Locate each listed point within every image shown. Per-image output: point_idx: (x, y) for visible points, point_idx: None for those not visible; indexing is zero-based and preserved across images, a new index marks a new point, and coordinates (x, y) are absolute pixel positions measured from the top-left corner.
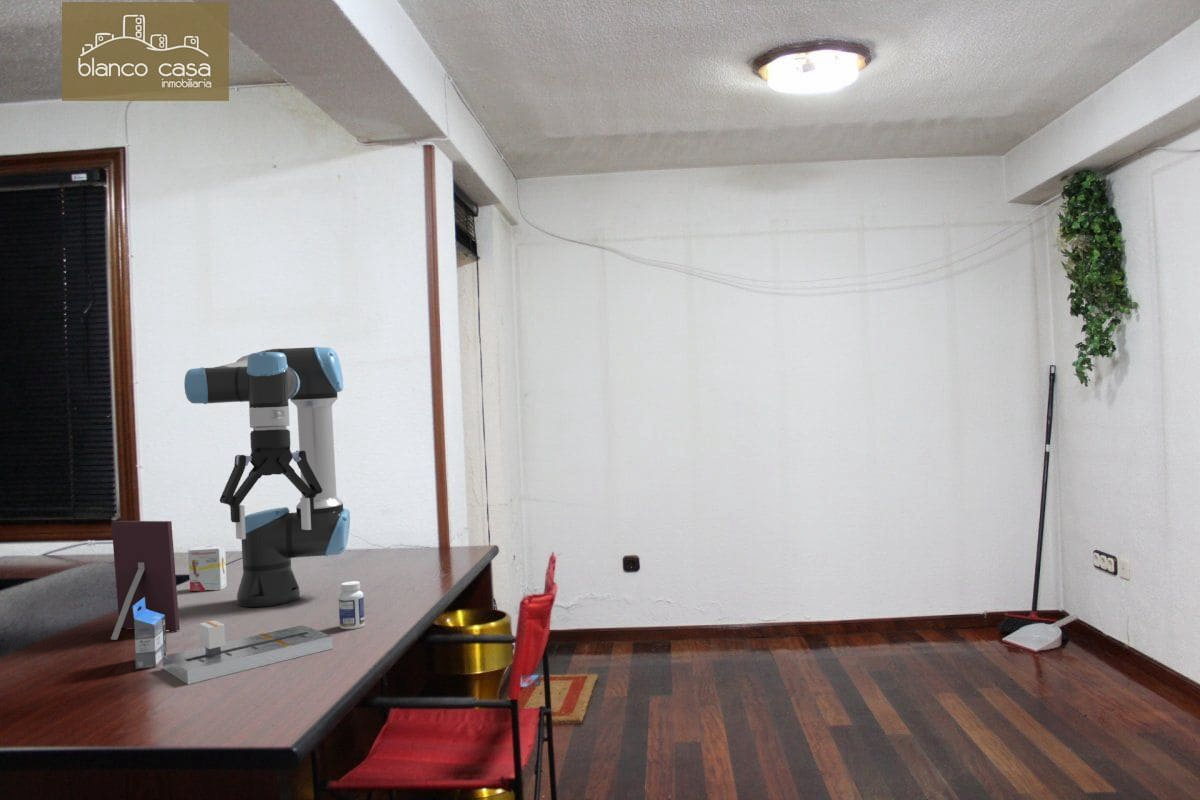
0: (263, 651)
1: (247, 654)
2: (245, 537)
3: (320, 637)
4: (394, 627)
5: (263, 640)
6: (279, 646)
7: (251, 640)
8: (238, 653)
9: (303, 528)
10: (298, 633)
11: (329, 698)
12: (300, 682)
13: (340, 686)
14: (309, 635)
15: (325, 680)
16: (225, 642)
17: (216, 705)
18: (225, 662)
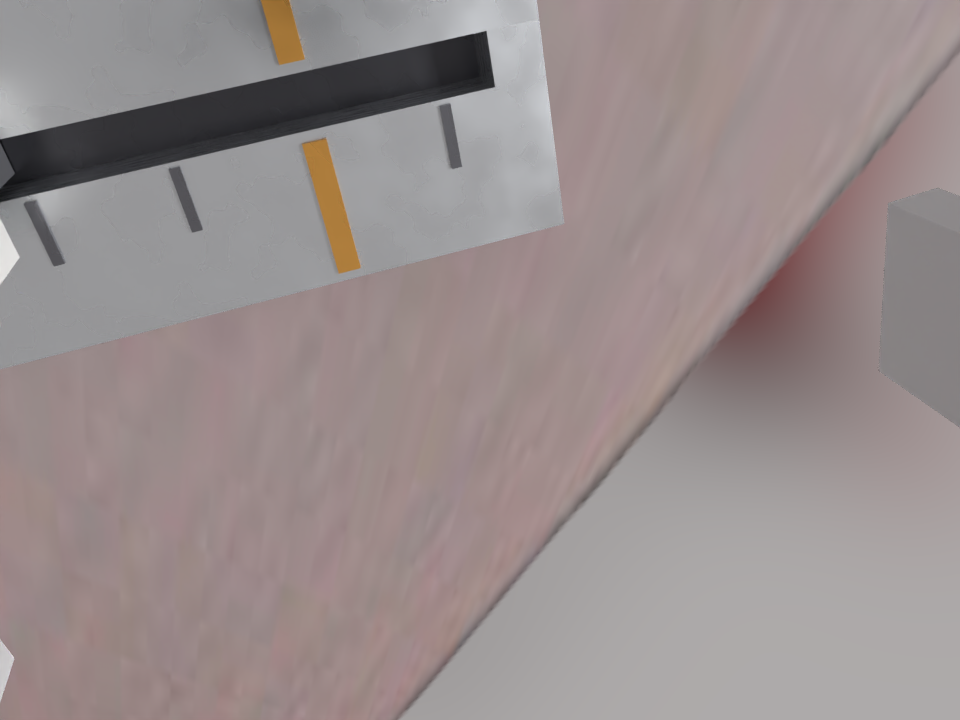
0: (225, 293)
1: (146, 301)
2: (5, 674)
3: (512, 210)
4: (890, 18)
5: (243, 64)
6: (308, 252)
7: (175, 6)
8: (99, 253)
9: (896, 262)
10: (444, 38)
11: (374, 706)
12: (328, 554)
13: (427, 635)
14: (480, 133)
15: (404, 570)
16: (15, 261)
17: (40, 644)
18: (39, 357)
